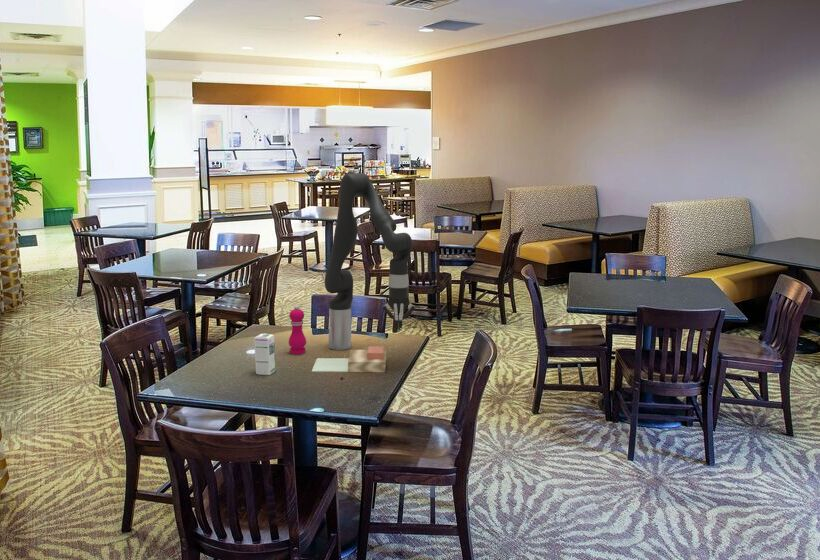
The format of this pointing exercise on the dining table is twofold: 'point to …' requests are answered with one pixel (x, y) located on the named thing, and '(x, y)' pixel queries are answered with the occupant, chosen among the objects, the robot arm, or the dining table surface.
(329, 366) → the mat
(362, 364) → the board
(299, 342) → the pepper mill
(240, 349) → the dining table surface
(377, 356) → the tile
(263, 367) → the syrup box
